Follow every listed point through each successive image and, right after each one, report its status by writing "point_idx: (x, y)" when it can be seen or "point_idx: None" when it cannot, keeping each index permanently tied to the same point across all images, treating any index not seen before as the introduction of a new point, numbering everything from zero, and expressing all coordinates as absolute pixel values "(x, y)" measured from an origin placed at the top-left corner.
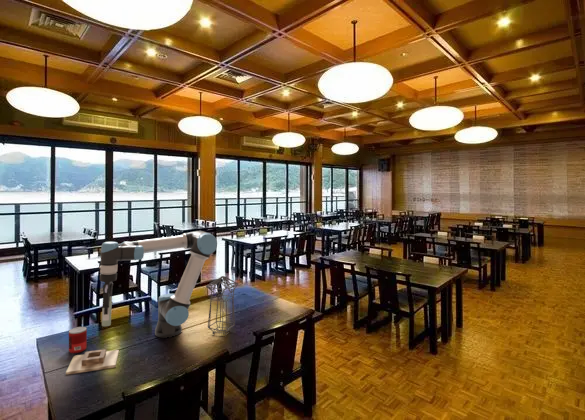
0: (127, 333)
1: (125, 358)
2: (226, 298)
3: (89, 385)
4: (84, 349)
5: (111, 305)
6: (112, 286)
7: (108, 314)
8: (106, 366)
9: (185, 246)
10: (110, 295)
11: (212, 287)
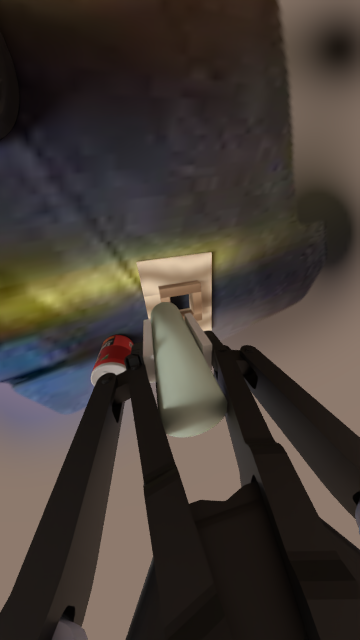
0: (3, 263)
1: (174, 236)
2: None
3: (255, 282)
4: (122, 336)
5: (181, 344)
6: (229, 632)
7: (198, 326)
8: (211, 270)
9: None
10: (160, 420)
11: None
